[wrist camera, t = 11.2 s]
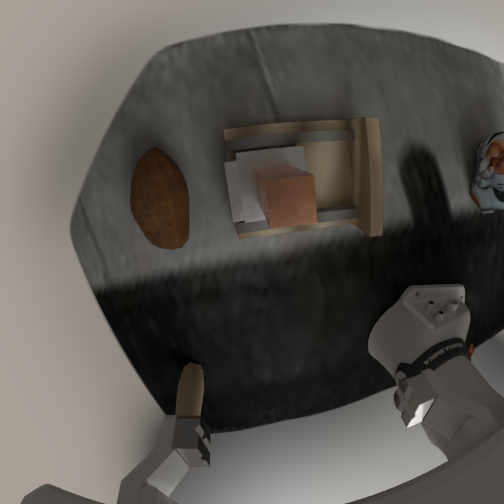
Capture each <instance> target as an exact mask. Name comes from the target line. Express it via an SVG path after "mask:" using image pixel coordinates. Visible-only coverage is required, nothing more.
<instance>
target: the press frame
mask: <svg viewBox="0 0 504 504" xmlns="http://www.w3.org/2000/svg"><path fill="white" fill-rule="evenodd" d="M224 137H225V148H226V151H227V158H228V160H231V159H236V152H243V151H251V150H259V149H268V148H277V147H288V146H304V153H305V163H306V172H308V173H310V174H313V175H314V179H315V191H316V206H317V223H313V224H305V225H298V226H290V227H283V228H275V229H270V228H269V225H268V223H267V221H266V220H262V221H255V222H248V223H245V221H239V222H237V229H238V234H239V239H245V238H252V237H259V236H266V235H274V234H281V233H288V232H295V231H303V230H310V229H318V228H325V227H333V226H341V225H348V224H354V225H355V226H357V227H358V228H359V229H361V230H362V231H363V232H365V233H366V234H367V235H368V236H370V237H374V236H380V235H382V233H383V169H382V150H381V137H380V125H379V118H369V117H365V118H358V119H351V120H323V121H301V122H286V123H274V124H264V125H254V126H246V127H238V128H231V129H224Z"/></svg>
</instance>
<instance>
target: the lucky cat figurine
mask: <svg viewBox="0 0 504 504" xmlns="http://www.w3.org/2000/svg"><path fill="white" fill-rule="evenodd" d="M470 194H471V198H472V199H473V200H474V202H475V203H476V204H477V206H478V207H479V208H481V212H482V213H483V214H484V215H485V214H486V213H493V212H494V211H495V210H496V209H497V210H503V209H504V132H496V133H493V134H492V135H490V136H489V138H488V139H487V140H486V141H483V142H481V143H480V146H479V148H478V150H477V164H476V171H475V176H474V179H473V183H472V188H471V192H470Z"/></svg>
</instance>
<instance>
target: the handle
mask: <svg viewBox="0 0 504 504" xmlns="http://www.w3.org/2000/svg"><path fill="white" fill-rule="evenodd" d="M182 372H183V373H182V375H181V378H180V381H179V385H178V391H177V403H176V415H200V412H201V406H202V400H203V391H204V381H203V369H201V365H199V364H194V363H192V362H190V363H188V365H186V366H184V368H183V371H182Z"/></svg>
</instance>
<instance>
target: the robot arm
mask: <svg viewBox="0 0 504 504" xmlns="http://www.w3.org/2000/svg"><path fill="white" fill-rule="evenodd" d="M464 301H465V289H464V286H463V285H462V284H440V285H412V286H409V287H408V288H407V289H406V290H405V291H404V293H403V294H402V296H401V297H400V299H399V300H398V301H397V302H396V303H395V304H394V305H393V306H392V307H391V308H389V309H388V310H387V311H386V312H385V313H384V314H383V315H382V316H381V317H380V319H379V320H378V321H377V323H376V324H375V326H374V327H373V329H372V331H371V333H370V336H369V340H368V350H369V352H370V354H371V355H372V356H373V357H374V358H375V359H377V360H378V361H379V362H380V363H381V364H382V365H383V366H384V367H385V368H386V369H387V370H388V371H389V373H390V374H391V375H392V376H393V378H394V380H395V382H396V385H397V387H398V389H397V390H396V391H395V394H394V402H395V406H396V408H397V410H399V411H401V412H402V415H401V418H402V419H403V422H404V423H405V426H406V427H409V426H412V425H415V424H417V423H419V422H420V423H421V424H422V426H423V428H424V430H425V432H426V434H427V436H428V438H429V440H430V442H431V443H432V444H433V445H435V446H437V447H438V448H439V449H440V450H441V451H442V452H443V453H444V454H445V455H446V457H447V459H448V461H447V462H445V463H444V464H442V465H440V466H438V467H436V468H434V469H432V470H430V471H428V472H427V473H425V474H422V475H420V476H418V477H416V478H414V479H412V480H410V481H407V482H405V483H403V484H400V485H398V486H396V487H393V488H391V489H388V490H386V491H383V492H380V493H377V494H375V495H372V496H369V497H366V498H363V499H360V500H357V501H354V502H350V503H346V504H504V397H502V396H501V395H500V394H498V393H497V392H496V391H495V390H494V389H493V388H492V387H491V386H490V385H489V384H488V382H486V380H485V379H484V377H483V376H482V375H481V374H480V373H479V372H478V370H477V369H476V368H475V367H474V365H473V364H472V363H471V362H470V361H471V359H470V358H471V356H472V354H473V352H474V350H475V347H474V349H473V350H472V346H473V345H472V344H471V346H470V348H469V350H468V352H467V348H466V346H465V339H466V336H467V332H468V328H469V324H470V312H469V310H468V308H467V306H466V305H465V304H464ZM471 351H472V352H471ZM210 440H211V438H210V431H209V427H208V425H206V424H205V419H204V417H203V415H165V417H164V420H163V425H162V430H161V436H160V442H159V448H155V449H154V450H153V451H151V452H150V453H149V454H148V455H147V456H146V458H145V459H143V460H142V461H141V462H140V463H139V464H138V465H137V466H136V467H135V468H134V469H133V470H132V471H131V472H130V473H129V474H128V475H127V476H126V477H125V478H124V479H123V480H122V481H121V485H120V490H119V495H118V500H117V504H178V503H176V502H175V501H174V500H172V499H171V498H169V497H168V496H169V495H170V493H171V492H172V491H173V489H174V488H175V487H176V486H177V484H178V483H179V482H180V480H181V479H182V478H183V476H184V475H185V474H186V472H187V471H188V470H189V467H208V466H210V452H209V451H208V449H207V448H208V447H209V446H210ZM21 504H104V503H100V502H97V501H94V500H91V499H88V498H85V497H82V496H79V495H76V494H73V493H71V492H68V491H66V490H63V489H61V488H58V487H56V486H53V485H50V484H45V485H43V486H40V487H39V488H37V489H35V490H34V491H32V492H31V493H29V494H28V495H26V496H25V497H24V498H23V500H22V502H21Z"/></svg>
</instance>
